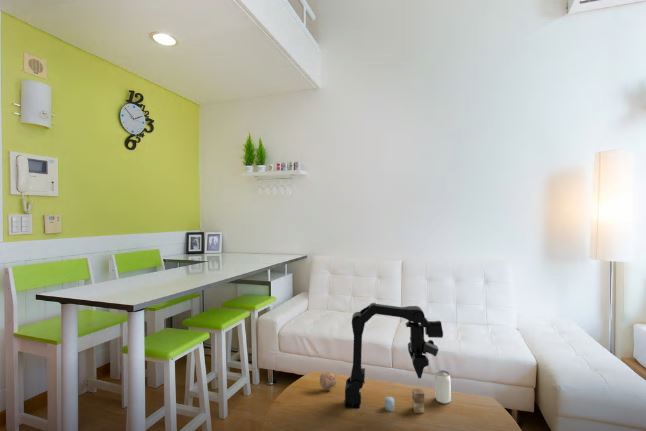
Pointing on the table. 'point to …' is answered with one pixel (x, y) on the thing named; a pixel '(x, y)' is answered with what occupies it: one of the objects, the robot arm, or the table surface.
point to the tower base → (418, 407)
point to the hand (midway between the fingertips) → (417, 373)
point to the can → (442, 387)
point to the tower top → (418, 395)
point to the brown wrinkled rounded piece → (327, 380)
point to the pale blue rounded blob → (389, 404)
